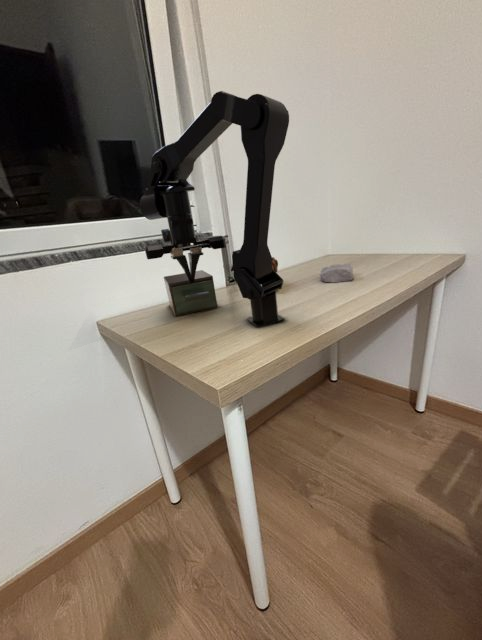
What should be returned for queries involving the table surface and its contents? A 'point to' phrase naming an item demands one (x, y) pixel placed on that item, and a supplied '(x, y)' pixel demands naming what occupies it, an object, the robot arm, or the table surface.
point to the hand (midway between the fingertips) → (192, 282)
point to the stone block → (337, 273)
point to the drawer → (193, 296)
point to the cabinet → (183, 279)
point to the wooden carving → (274, 264)
